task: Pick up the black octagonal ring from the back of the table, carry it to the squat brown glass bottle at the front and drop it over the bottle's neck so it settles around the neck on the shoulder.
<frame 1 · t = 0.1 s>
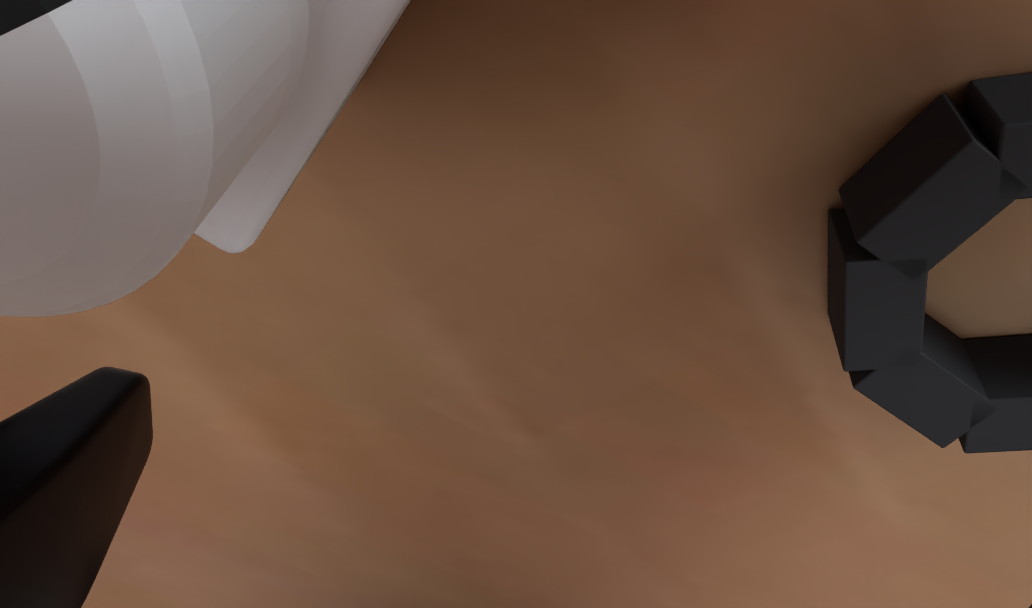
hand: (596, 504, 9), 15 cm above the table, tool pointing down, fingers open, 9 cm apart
black octagonal ring: (1020, 246, 23), on the table
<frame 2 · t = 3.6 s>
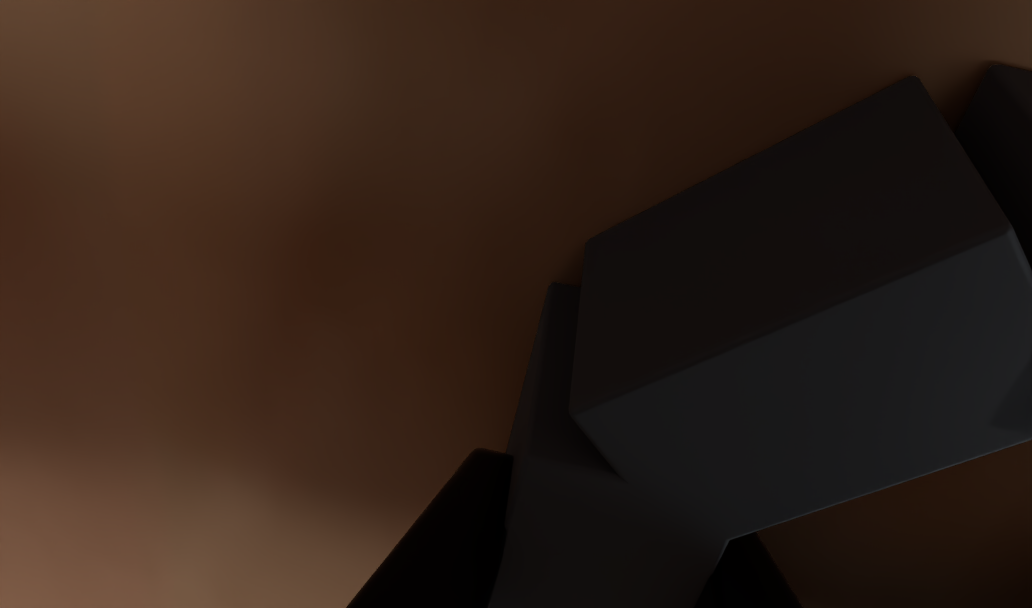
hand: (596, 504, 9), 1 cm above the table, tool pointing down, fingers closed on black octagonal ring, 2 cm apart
black octagonal ring: (928, 486, 10), on the table, touching gripper
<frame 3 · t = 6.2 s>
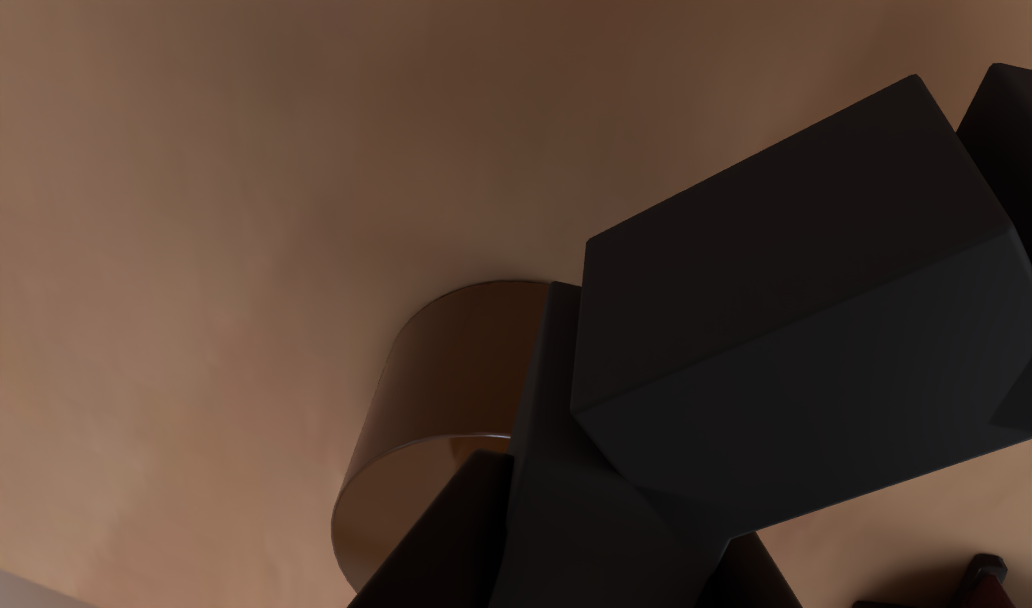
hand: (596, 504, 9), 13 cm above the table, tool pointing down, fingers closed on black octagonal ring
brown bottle: (523, 397, 25), on the table
black octagonal ring: (929, 485, 10), point 11 cm above the table, touching gripper
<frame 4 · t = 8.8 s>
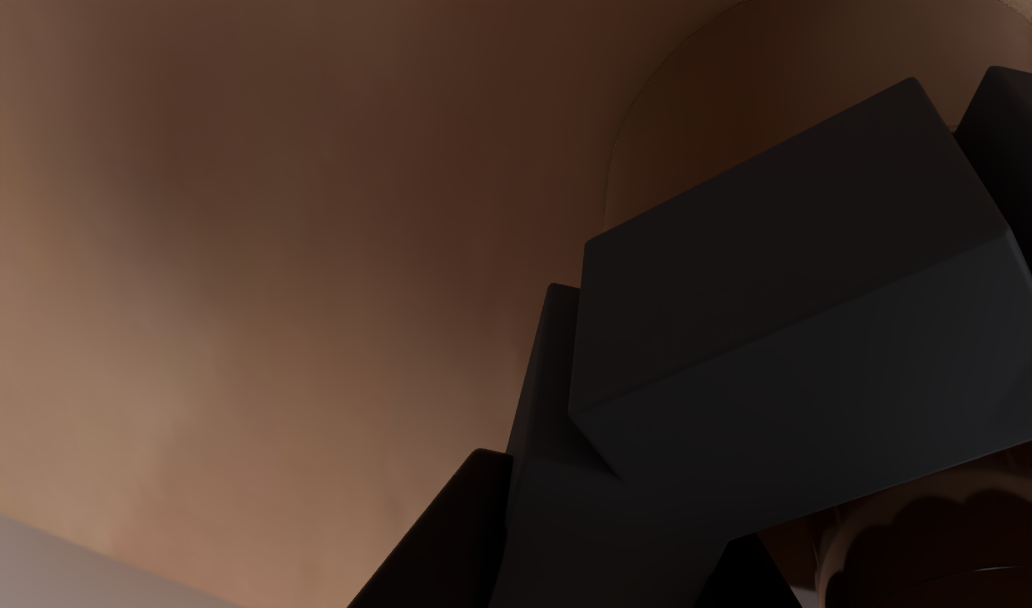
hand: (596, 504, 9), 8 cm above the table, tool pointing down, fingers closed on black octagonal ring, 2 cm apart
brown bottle: (833, 199, 16), on the table
black octagonal ring: (927, 486, 10), point 7 cm above the table, touching gripper
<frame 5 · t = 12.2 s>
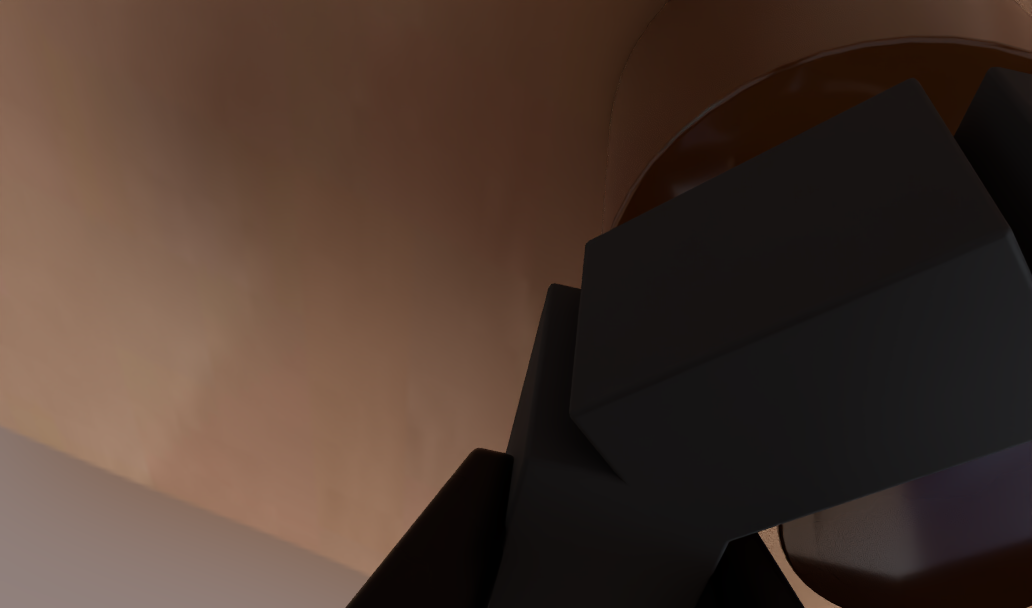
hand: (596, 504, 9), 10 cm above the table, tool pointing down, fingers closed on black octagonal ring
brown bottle: (813, 135, 17), on the table
black octagonal ring: (927, 487, 10), point 9 cm above the table, touching gripper
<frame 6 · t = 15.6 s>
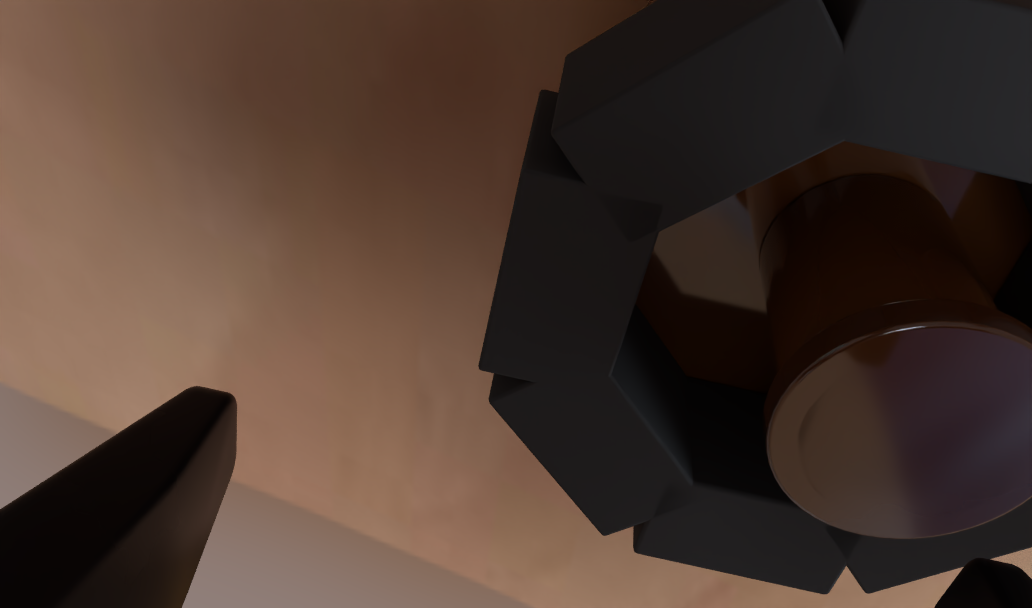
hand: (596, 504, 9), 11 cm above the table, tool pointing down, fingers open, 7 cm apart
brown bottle: (804, 108, 18), on the table
black octagonal ring: (816, 253, 14), point 5 cm above the table, touching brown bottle
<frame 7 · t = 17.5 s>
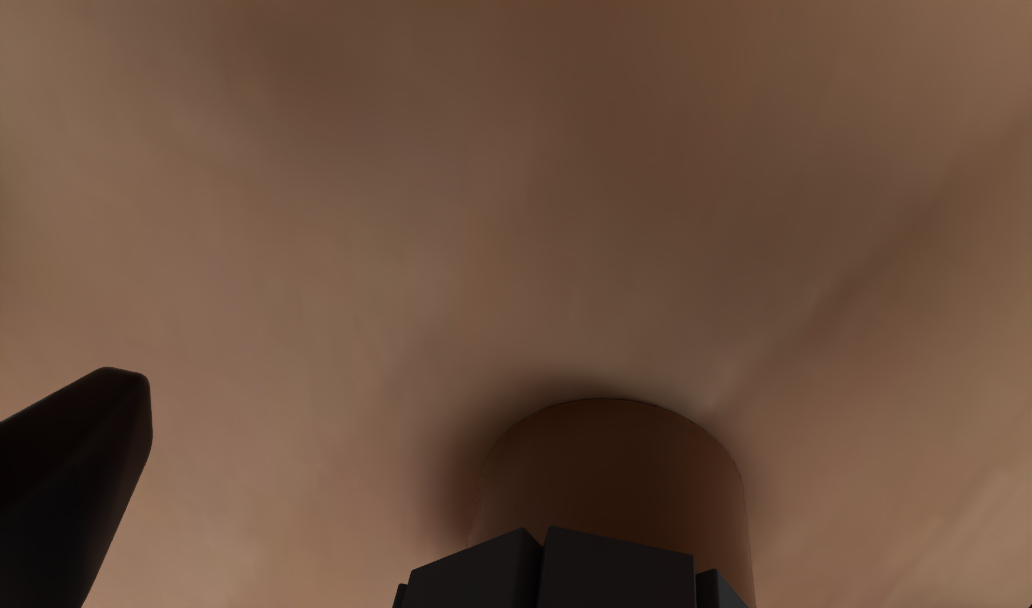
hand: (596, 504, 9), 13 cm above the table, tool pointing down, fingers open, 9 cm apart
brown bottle: (610, 497, 27), on the table
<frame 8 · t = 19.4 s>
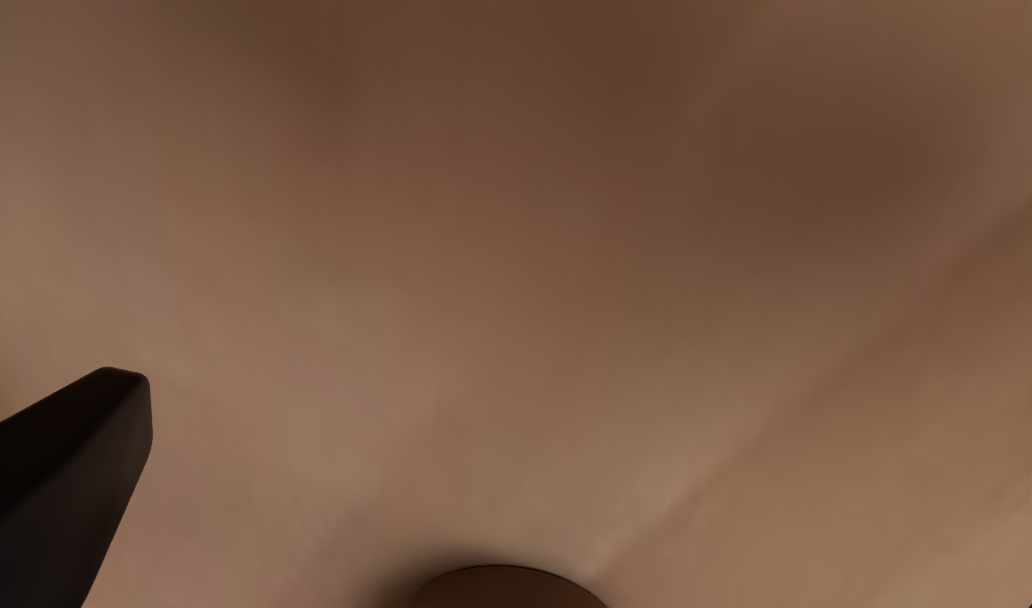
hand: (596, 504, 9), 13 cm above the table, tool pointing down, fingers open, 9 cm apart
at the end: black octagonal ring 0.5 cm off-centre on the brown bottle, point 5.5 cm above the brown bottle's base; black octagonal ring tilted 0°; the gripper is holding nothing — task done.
